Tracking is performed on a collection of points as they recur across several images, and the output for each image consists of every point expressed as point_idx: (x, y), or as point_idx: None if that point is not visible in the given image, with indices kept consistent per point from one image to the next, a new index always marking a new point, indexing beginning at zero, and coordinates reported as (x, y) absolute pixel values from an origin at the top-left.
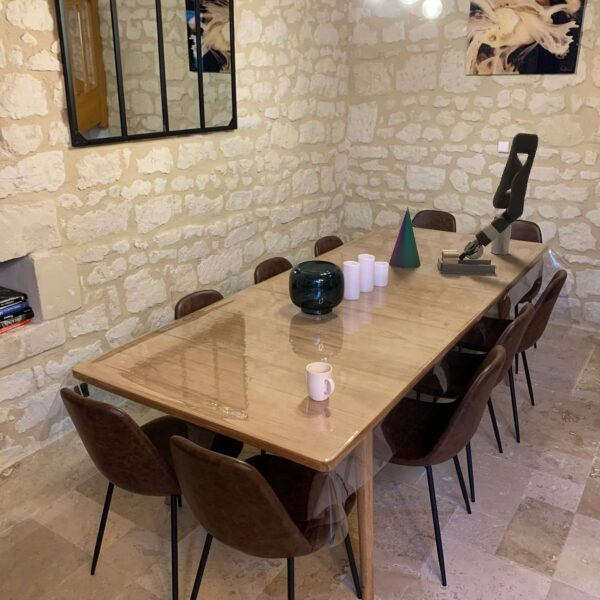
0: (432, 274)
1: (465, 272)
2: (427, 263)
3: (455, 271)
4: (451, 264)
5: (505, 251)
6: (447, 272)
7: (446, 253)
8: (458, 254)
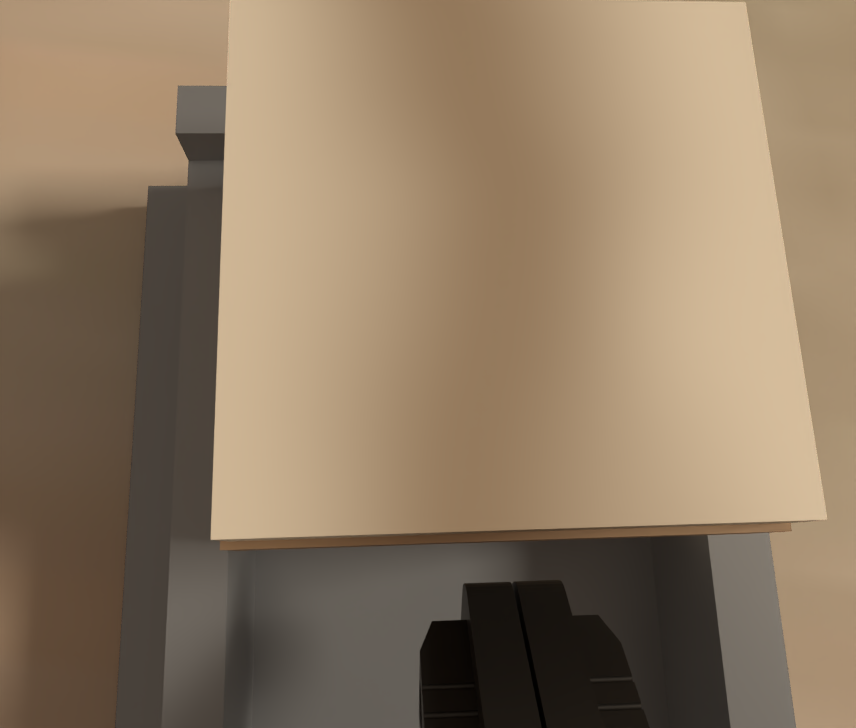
0: (102, 63)
1: (119, 720)
2: (801, 61)
3: (158, 487)
4: (209, 366)
5: None
6: (144, 321)
7: (230, 73)
8: (220, 530)
